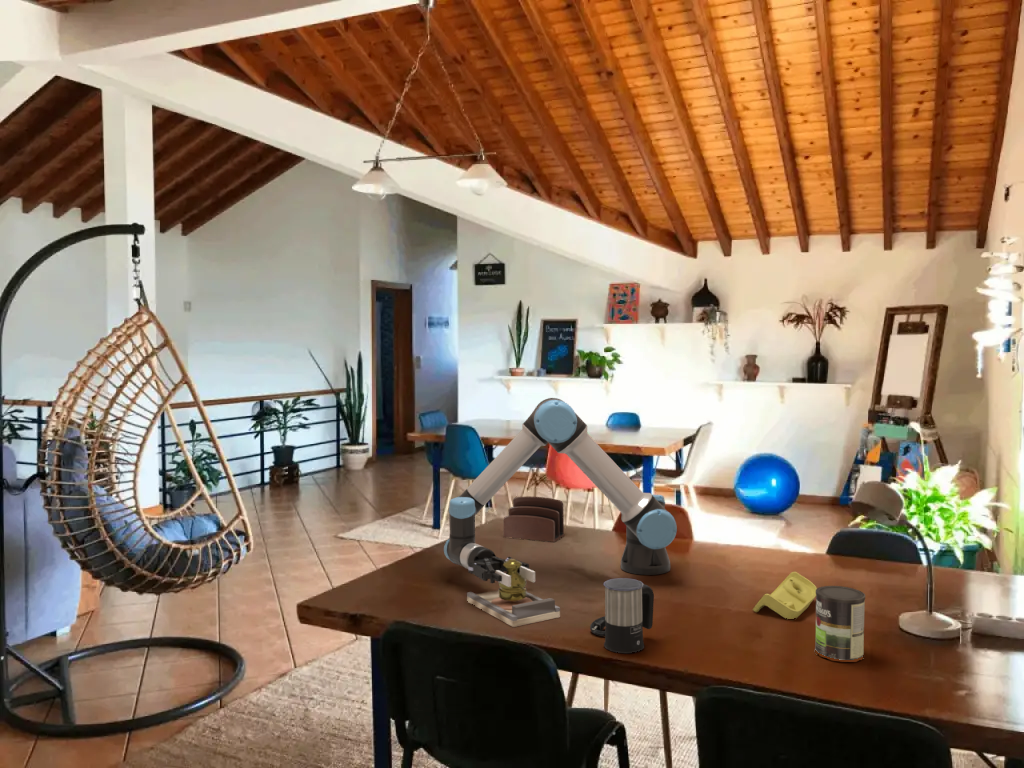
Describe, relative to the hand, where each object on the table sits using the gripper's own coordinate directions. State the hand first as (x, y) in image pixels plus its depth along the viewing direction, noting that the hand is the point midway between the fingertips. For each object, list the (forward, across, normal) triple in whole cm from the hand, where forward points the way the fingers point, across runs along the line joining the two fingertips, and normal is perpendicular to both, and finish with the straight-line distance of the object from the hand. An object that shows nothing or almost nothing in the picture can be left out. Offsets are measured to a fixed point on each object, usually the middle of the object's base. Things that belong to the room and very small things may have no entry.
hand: (521, 579), depth 212 cm
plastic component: (+34, -61, -10) cm, 71 cm away
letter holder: (-70, -49, -10) cm, 86 cm away
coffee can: (+61, -45, -9) cm, 77 cm away
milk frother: (+28, -8, -10) cm, 30 cm away
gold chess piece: (-5, 0, -6) cm, 8 cm away
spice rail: (-5, 0, -9) cm, 10 cm away
